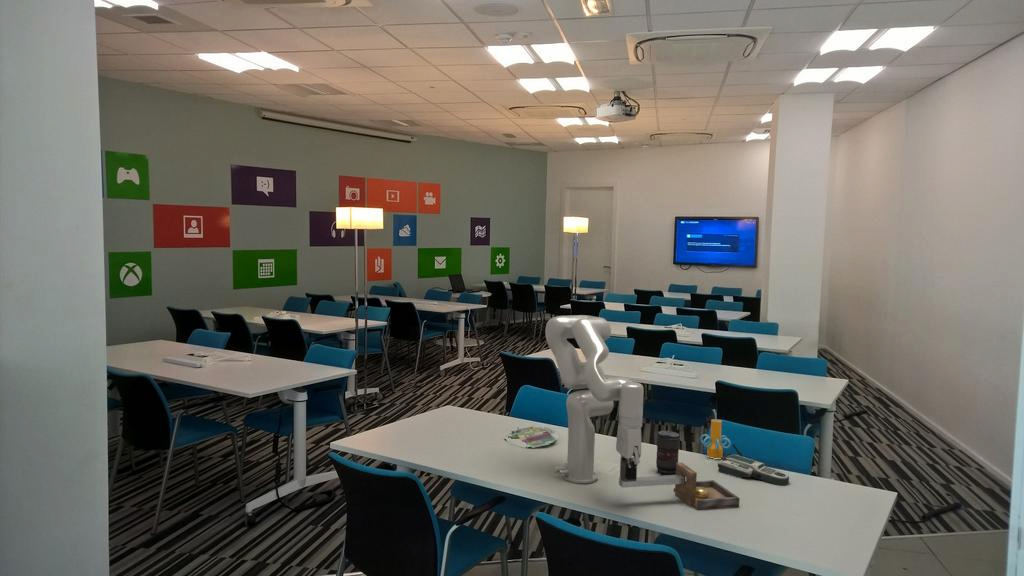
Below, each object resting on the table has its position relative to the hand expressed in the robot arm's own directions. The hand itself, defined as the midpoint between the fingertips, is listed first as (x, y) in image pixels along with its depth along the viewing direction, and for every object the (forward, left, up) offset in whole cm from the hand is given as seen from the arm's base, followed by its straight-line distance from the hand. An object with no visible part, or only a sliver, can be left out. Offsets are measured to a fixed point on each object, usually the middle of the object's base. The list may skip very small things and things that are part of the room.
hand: (628, 476), depth 205 cm
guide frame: (+27, 0, -9) cm, 29 cm away
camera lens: (+27, +25, -9) cm, 38 cm away
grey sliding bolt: (+9, 0, -3) cm, 9 cm away
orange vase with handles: (+55, +39, -9) cm, 68 cm away
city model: (-14, +71, -10) cm, 73 cm away
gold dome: (+26, 0, -6) cm, 27 cm away
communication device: (+58, +17, -10) cm, 61 cm away
